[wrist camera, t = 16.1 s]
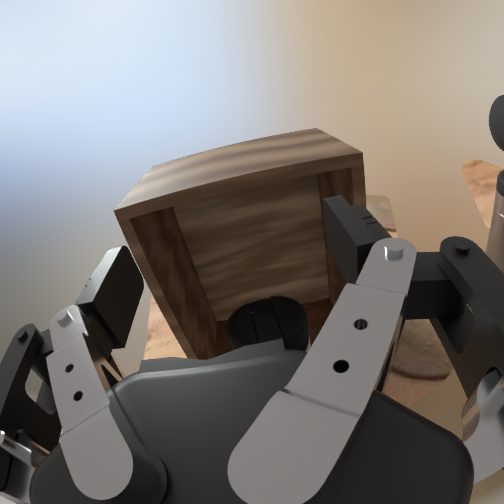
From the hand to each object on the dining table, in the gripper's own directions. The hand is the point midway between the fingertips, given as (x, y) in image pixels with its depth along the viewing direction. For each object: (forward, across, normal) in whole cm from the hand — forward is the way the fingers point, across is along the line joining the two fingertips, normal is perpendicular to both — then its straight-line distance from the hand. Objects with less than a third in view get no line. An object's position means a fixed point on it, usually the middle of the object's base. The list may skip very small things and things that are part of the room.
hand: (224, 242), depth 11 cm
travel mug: (+5, 0, +30) cm, 30 cm away
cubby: (+20, 0, +30) cm, 36 cm away
